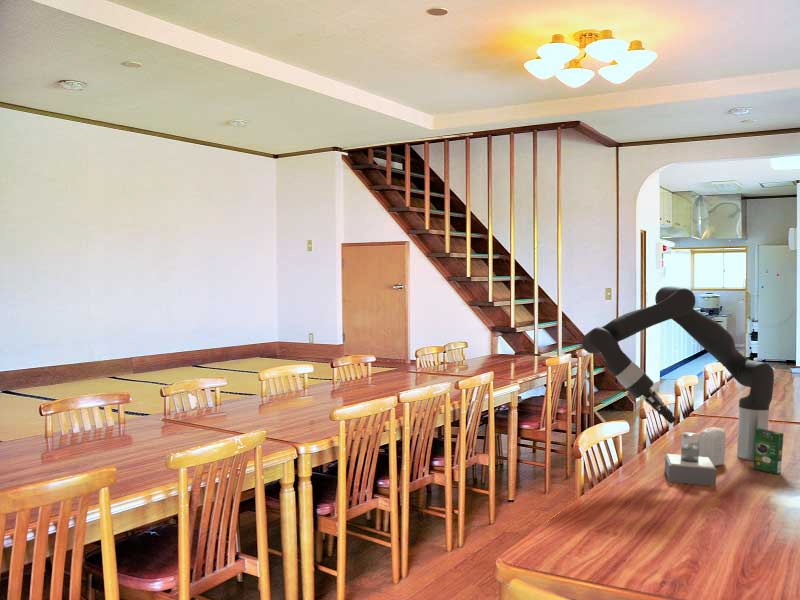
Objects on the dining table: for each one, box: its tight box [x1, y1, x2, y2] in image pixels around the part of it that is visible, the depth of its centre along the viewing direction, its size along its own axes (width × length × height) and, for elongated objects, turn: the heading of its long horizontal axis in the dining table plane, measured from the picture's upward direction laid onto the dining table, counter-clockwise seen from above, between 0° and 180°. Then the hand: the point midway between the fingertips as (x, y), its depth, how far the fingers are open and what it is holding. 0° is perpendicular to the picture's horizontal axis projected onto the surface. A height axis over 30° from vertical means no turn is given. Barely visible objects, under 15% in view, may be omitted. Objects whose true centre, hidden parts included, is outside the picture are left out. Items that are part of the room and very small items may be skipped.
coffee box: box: [752, 428, 784, 475], centre depth 223 cm, size 8×3×13 cm, turn 33°
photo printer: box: [699, 426, 727, 467], centre depth 230 cm, size 10×4×12 cm, turn 123°
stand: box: [664, 453, 717, 487], centre depth 214 cm, size 13×13×6 cm
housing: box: [680, 431, 700, 462], centre depth 214 cm, size 5×5×8 cm
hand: (672, 419), depth 215 cm, fingers open, 8 cm apart
